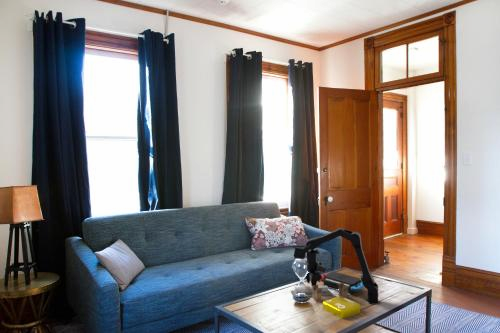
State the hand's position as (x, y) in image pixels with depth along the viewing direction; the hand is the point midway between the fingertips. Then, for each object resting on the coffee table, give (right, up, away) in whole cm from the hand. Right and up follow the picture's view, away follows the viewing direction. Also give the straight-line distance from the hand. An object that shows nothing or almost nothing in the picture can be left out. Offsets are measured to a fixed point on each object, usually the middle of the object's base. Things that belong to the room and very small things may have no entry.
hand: (311, 285), depth 222 cm
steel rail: (0, -4, 0) cm, 4 cm away
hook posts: (+10, -5, -8) cm, 13 cm away
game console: (+25, -1, +14) cm, 29 cm away
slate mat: (0, -5, 0) cm, 5 cm away
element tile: (+12, -6, -22) cm, 26 cm away
